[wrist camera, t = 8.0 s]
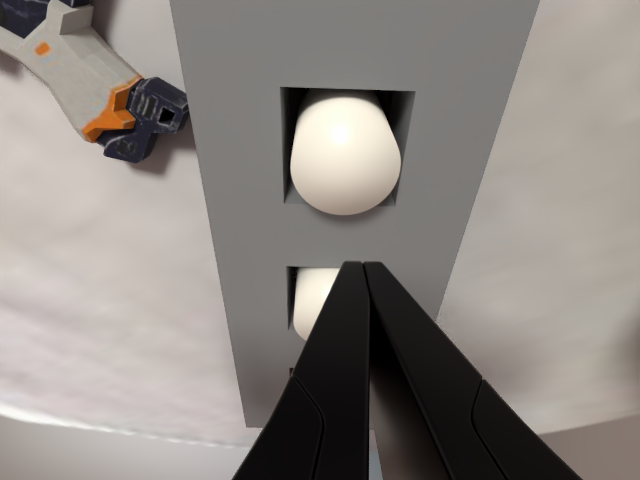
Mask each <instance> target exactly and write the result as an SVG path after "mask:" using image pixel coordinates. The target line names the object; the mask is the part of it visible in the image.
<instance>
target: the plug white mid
mask: <svg viewBox="0 0 640 480" xmlns="http://www.w3.org/2000/svg"><path fill="white" fill-rule="evenodd" d="M340 268H341V267H300V266H298V268H297V281H296V294H295V307H294V321H293V323H294V327H295V330H296V332H297V333H298V334H299V336H301V337H302V338H303V339H304V340H306V341H307V339H308V336H309V334H310V332H311V330H312V328H313V326H314V324H315V321H316V319H317V317H318V315H319V313H320V311H321V309H322V306H323V304H324V302H325V300H326V298H327V296H328V293H329V291H330V289H331V287H332V285H333V283H334V281H335V278H336V276H337V274H338V272H339V270H340Z"/></svg>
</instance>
